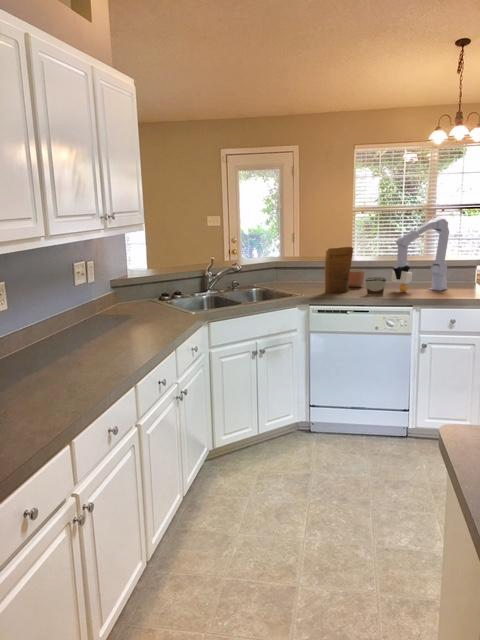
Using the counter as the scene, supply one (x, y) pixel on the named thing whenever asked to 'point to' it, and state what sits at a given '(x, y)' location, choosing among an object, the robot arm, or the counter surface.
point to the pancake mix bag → (337, 269)
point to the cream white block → (402, 277)
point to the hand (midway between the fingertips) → (401, 278)
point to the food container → (375, 285)
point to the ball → (403, 287)
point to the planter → (356, 278)
